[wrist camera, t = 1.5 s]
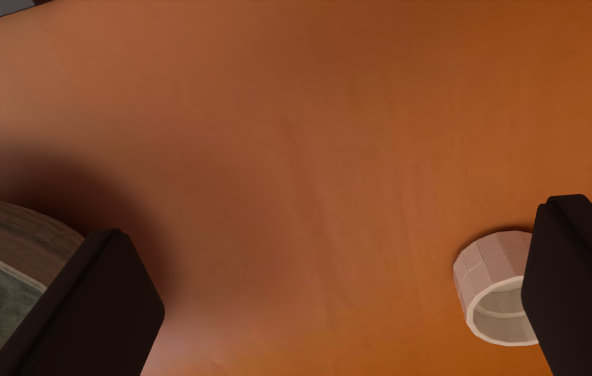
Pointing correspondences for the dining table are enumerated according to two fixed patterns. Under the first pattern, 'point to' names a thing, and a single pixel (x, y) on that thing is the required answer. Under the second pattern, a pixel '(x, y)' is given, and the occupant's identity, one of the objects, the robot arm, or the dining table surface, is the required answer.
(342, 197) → the dining table surface
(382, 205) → the dining table surface
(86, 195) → the dining table surface
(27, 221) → the bowl
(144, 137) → the dining table surface
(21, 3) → the black button base
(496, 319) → the small bowl
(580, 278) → the robot arm
